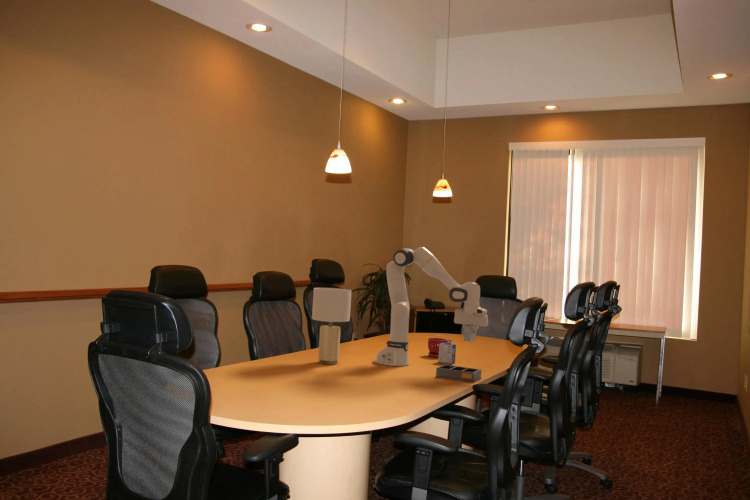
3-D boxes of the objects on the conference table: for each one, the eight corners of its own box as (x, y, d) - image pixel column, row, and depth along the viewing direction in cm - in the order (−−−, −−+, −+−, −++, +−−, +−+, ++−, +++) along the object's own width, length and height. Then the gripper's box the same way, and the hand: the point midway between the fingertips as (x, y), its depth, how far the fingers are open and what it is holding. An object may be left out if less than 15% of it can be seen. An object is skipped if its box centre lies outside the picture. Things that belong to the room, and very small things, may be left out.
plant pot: (447, 358, 418) (448, 340, 418) (427, 357, 418) (428, 339, 418) (445, 355, 431) (446, 337, 431) (426, 354, 431) (427, 336, 431)
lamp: (347, 360, 387) (351, 289, 387) (346, 367, 364) (351, 291, 364) (310, 358, 386) (314, 287, 387) (307, 365, 364) (312, 289, 364)
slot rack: (435, 376, 353) (436, 367, 353) (444, 372, 366) (445, 364, 366) (473, 382, 343) (473, 373, 343) (480, 378, 356) (481, 369, 356)
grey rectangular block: (463, 340, 366) (464, 325, 366) (469, 339, 375) (470, 324, 375) (470, 341, 364) (471, 326, 364) (475, 340, 373) (476, 325, 373)
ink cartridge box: (455, 363, 400) (456, 340, 401) (451, 364, 396) (453, 341, 396) (441, 361, 406) (443, 338, 406) (437, 362, 401) (439, 339, 401)
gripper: (453, 307, 372) (451, 331, 372) (486, 311, 362) (485, 335, 362) (456, 307, 377) (455, 330, 377) (489, 310, 368) (488, 334, 368)
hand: (470, 332), depth 370 cm, fingers closed on grey rectangular block, 4 cm apart
